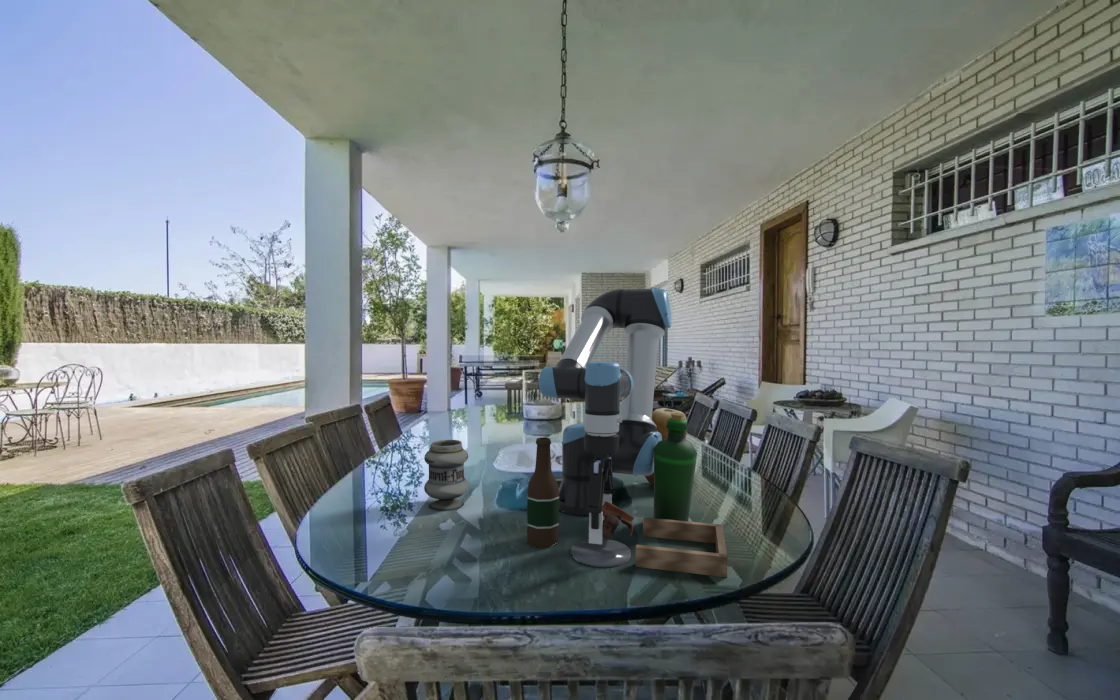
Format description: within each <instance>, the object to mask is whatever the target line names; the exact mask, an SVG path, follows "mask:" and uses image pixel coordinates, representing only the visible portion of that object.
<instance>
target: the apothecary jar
mask: <svg viewBox="0 0 1120 700" xmlns="http://www.w3.org/2000/svg"><path fill="white" fill-rule="evenodd" d="M429 447H430V448H429V450H428V451H427V452H426V453H425V454H424V460H423V461H425V463H426V464H427V465H428V480H427V481H425V484H424V488H423V490H424V492H425V494H426V495H427V496H428V497H430V498H432V499H435V501H432V502H430V504H428V508H429V509H430V510H435V511H437V512H451V511H455V510H459V509H461V508H463V506H464V505H465V502H463V501H462V500H459V499H457V498H459V497H462V496H463V495H465V494H466V493H467V492H468V490H469V488H470V484H469V481H468V480H467V478H465V466H464V465H465V463H466V462H467V460H468V458H469V454H468V451H467V450H465V449H464V448H463V447H464V446H463V442H462V441H461V440H457V439H442V440H437V441H435V440H434V441H432V442H431V443H430V445H429Z"/></svg>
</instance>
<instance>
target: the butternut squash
mask: <svg viewBox="0 0 1120 700" xmlns="http://www.w3.org/2000/svg"><path fill="white" fill-rule="evenodd" d="M671 413H682V414H684V419H686V420H687V416H686V414H685V413H684V412H683V411H680V410H677V409H672V408H667V407H661V408H656V409H654V410H652V421H653V422H654V423H655V425H656V426H657V429H656V432H659V433H660V434H661V435H662V440H663V439H664V438H666V437H668V429H667V428H666V424H667V420H668V418H670V417H671ZM687 431H688V430H686V432H685V438H684V439H686V440H687ZM644 478H645V479H646V481H647V482H648V483H649V484H650V485H651V486H652V487H653V488H654V473H653V474H651V475H649V476H644Z"/></svg>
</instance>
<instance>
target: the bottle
mask: <svg viewBox="0 0 1120 700" xmlns="http://www.w3.org/2000/svg"><path fill="white" fill-rule="evenodd" d="M682 413H683V412H682ZM682 413H671V417H670V418H668V420H667V424H666V428H667V429H668V437H666V438H664V439H663V440H661V441H659V442H658V443H657V444H656V446H655V447H654V487H653V518H657V519H668V520H679V521H689V517H690V512H691V511H690V510H691V503H692V496H693V489H694V480H695V474H696V466H697V465H696V464H697V457H698V452H697V450H696V449H695V446H694V445H693V444H692V442H690V441H689V440H688V439H687V438H686V439H684V438H685V432H686V430H687V431H688V430H689V426H688V419H687V418H686V419H684V414H685V413H684V414H682Z"/></svg>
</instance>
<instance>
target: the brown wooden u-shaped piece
mask: <svg viewBox="0 0 1120 700" xmlns="http://www.w3.org/2000/svg"><path fill="white" fill-rule="evenodd" d="M642 521H643V522H642V536H643V537H649V538H658V539H670V540H678V541H688V542H699V543H705V544H706V543H708V544H715V552H708V551H699V550H690V549H682V548H679V549H678V548H672V547H663V546H662V547H661V546H653V545H644V544H636V546H635V567H636V568H643V569H652V570H660V571H661V570H662V571H670V572H677V573H688V574H694V575H695V574H696V575H703V576H704V575H705V576H712V577H720V578H728V554H727V553H728V552H727V545H726V540H725V533H724V529H723V524H722V523H721V524H719V523H710V522H701V521H700V522H697V521H689V520H688V521H679V520H668V519H657V518H654V517H645V516H644V517H643V519H642Z"/></svg>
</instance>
